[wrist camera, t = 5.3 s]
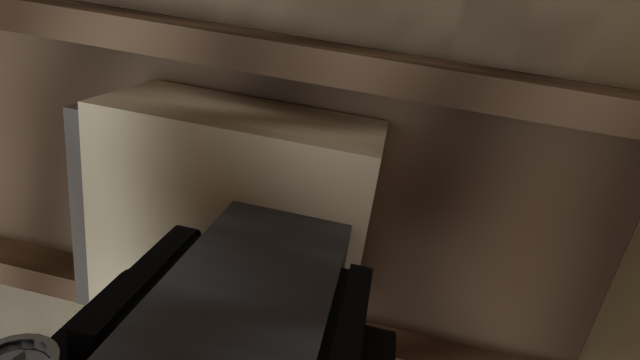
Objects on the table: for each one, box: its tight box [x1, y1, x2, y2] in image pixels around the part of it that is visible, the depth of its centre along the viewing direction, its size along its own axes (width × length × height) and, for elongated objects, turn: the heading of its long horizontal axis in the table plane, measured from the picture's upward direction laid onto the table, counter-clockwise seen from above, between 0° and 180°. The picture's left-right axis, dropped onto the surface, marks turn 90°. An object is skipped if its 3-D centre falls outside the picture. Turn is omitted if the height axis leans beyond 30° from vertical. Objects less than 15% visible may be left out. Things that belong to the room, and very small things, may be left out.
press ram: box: [63, 80, 389, 360], centre depth 11 cm, size 9×7×12 cm
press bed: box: [0, 0, 640, 360], centre depth 17 cm, size 25×11×3 cm, turn 82°
